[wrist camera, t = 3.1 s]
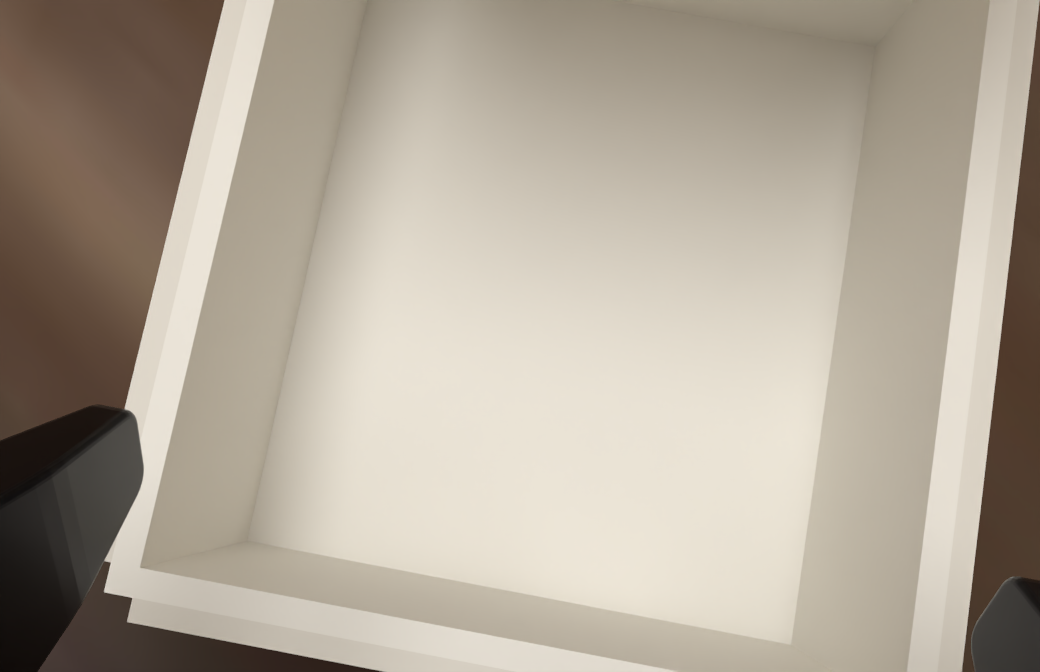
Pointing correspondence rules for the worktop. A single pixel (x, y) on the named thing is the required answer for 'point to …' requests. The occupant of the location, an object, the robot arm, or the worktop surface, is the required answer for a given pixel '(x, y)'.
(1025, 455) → the worktop surface
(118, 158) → the worktop surface
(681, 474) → the carton
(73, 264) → the worktop surface
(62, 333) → the worktop surface
